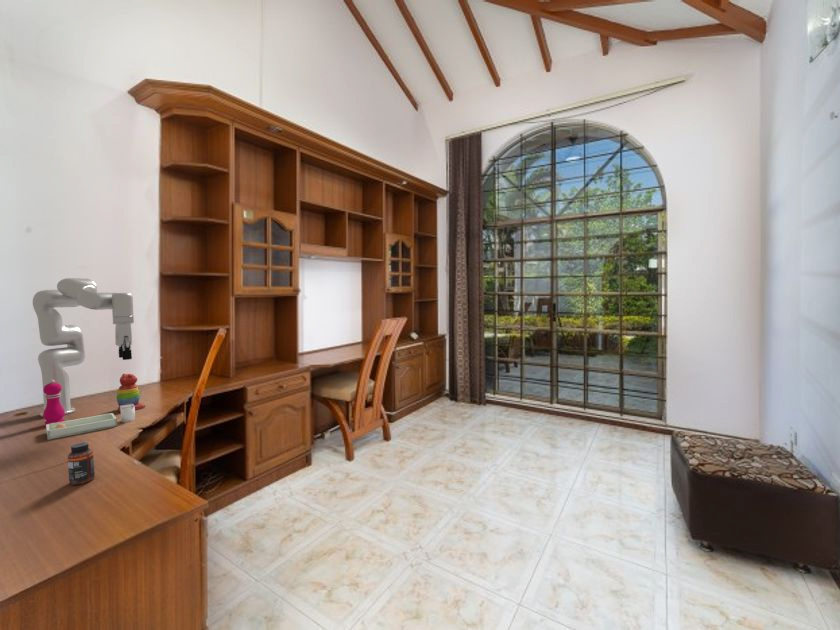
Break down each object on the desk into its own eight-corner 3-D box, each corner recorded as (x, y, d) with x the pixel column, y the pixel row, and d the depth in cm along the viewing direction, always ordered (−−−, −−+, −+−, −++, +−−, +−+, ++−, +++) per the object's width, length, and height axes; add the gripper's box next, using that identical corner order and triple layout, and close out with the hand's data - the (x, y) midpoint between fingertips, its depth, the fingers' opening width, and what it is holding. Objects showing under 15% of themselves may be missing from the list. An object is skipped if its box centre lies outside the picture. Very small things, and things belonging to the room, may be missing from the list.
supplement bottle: (92, 475, 124) (90, 439, 124) (97, 480, 121) (95, 443, 120) (67, 482, 120) (65, 445, 119) (71, 487, 116) (69, 449, 116)
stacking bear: (146, 407, 202) (145, 372, 201) (124, 412, 193) (122, 376, 192) (134, 405, 207) (133, 371, 206) (112, 410, 198) (110, 374, 197)
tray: (46, 432, 165) (46, 424, 165) (112, 420, 180) (112, 412, 180) (47, 439, 156) (47, 431, 156) (117, 426, 172) (116, 418, 172)
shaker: (120, 420, 181) (119, 405, 180) (134, 417, 184) (133, 403, 184) (122, 423, 177) (121, 408, 176) (136, 420, 180) (135, 405, 180)
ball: (58, 428, 166) (55, 422, 164) (68, 426, 167) (65, 421, 165) (56, 434, 163) (53, 428, 161) (66, 432, 164) (63, 426, 163)
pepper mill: (52, 427, 172) (49, 381, 171) (39, 426, 174) (36, 381, 173) (69, 422, 179) (67, 378, 178) (57, 421, 181) (54, 377, 180)
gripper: (109, 320, 182) (111, 357, 183) (116, 321, 169) (118, 361, 170) (130, 319, 187) (131, 355, 188) (137, 320, 175) (139, 359, 176)
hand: (125, 358), depth 179 cm, fingers open, 9 cm apart
